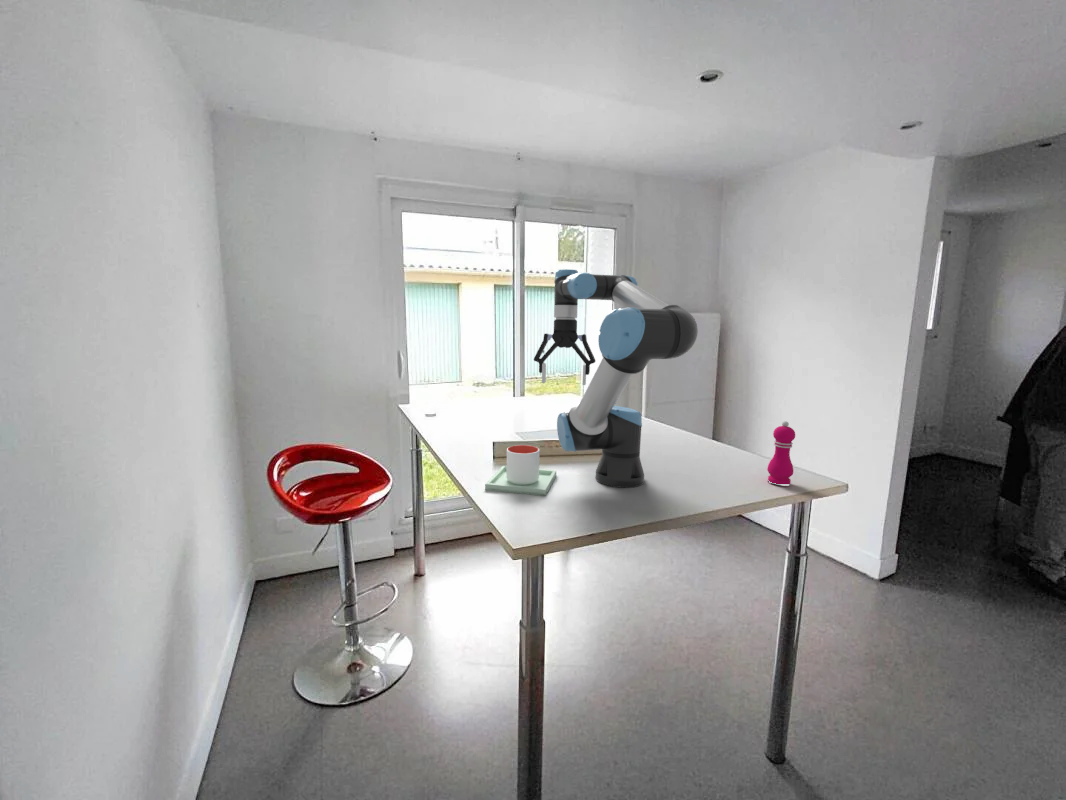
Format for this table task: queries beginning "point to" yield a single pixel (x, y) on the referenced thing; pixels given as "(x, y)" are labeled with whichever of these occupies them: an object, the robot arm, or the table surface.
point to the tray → (538, 488)
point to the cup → (522, 464)
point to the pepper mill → (781, 455)
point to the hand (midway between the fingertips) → (563, 383)
